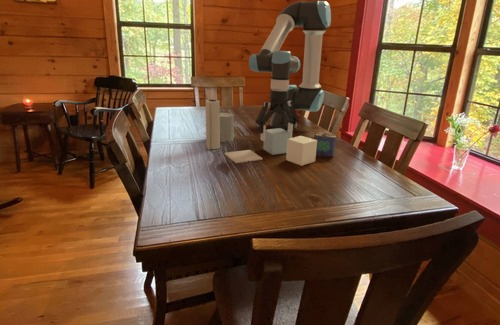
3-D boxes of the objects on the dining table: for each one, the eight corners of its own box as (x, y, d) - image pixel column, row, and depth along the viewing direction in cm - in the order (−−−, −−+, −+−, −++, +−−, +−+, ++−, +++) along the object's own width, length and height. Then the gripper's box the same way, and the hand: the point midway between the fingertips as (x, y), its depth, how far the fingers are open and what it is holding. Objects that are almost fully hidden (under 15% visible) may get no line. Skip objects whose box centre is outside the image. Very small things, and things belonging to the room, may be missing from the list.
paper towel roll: (214, 145, 152) (213, 98, 145) (222, 148, 148) (222, 100, 141) (201, 148, 148) (200, 100, 140) (209, 151, 144) (209, 102, 136)
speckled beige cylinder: (230, 143, 156) (231, 117, 152) (211, 141, 158) (211, 116, 154) (235, 137, 165) (236, 113, 161) (217, 136, 167) (217, 112, 162)
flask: (334, 155, 142) (337, 131, 139) (333, 157, 140) (336, 133, 136) (312, 153, 145) (314, 129, 141) (311, 155, 142) (314, 131, 138)
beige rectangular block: (299, 156, 141) (301, 135, 138) (315, 161, 135) (317, 140, 132) (286, 159, 136) (287, 138, 132) (301, 165, 130) (303, 143, 127)
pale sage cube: (279, 147, 152) (280, 128, 149) (289, 152, 145) (290, 132, 142) (263, 149, 148) (264, 129, 145) (272, 154, 141) (273, 134, 138)
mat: (249, 151, 145) (249, 149, 145) (262, 159, 135) (262, 158, 135) (224, 154, 140) (224, 152, 140) (235, 163, 130) (235, 161, 130)
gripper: (299, 88, 146) (295, 134, 153) (248, 89, 135) (247, 139, 142) (309, 90, 139) (304, 138, 146) (256, 91, 129) (254, 143, 136)
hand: (276, 139), depth 144 cm, fingers open, 13 cm apart
